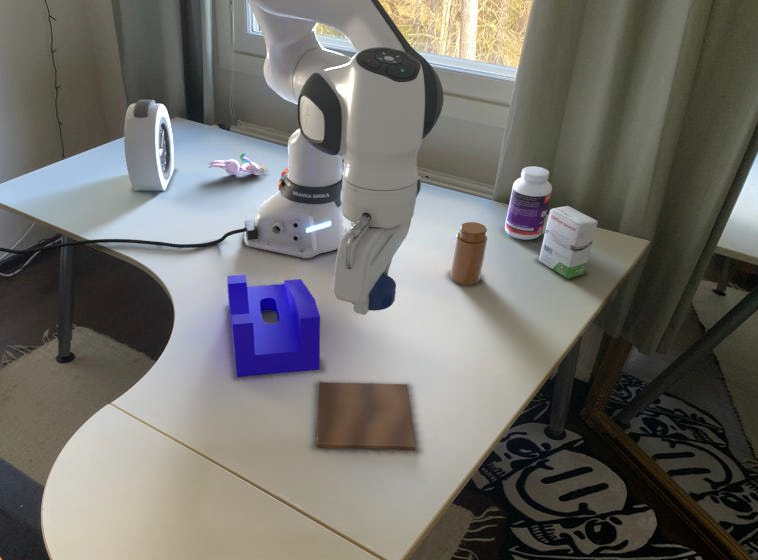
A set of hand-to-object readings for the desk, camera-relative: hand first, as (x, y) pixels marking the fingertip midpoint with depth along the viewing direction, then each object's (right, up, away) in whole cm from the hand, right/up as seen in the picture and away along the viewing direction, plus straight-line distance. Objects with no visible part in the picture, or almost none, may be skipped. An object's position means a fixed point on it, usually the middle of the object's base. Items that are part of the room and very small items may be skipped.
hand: (371, 296), depth 88 cm
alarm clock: (-48, +38, +85) cm, 104 cm away
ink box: (+44, +11, +48) cm, 66 cm away
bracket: (-15, -4, +29) cm, 33 cm away
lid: (0, +1, -1) cm, 2 cm away
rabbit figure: (-26, +40, +87) cm, 100 cm away
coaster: (0, -17, +13) cm, 21 cm away
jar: (+24, +8, +45) cm, 52 cm away
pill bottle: (+40, +20, +60) cm, 75 cm away
